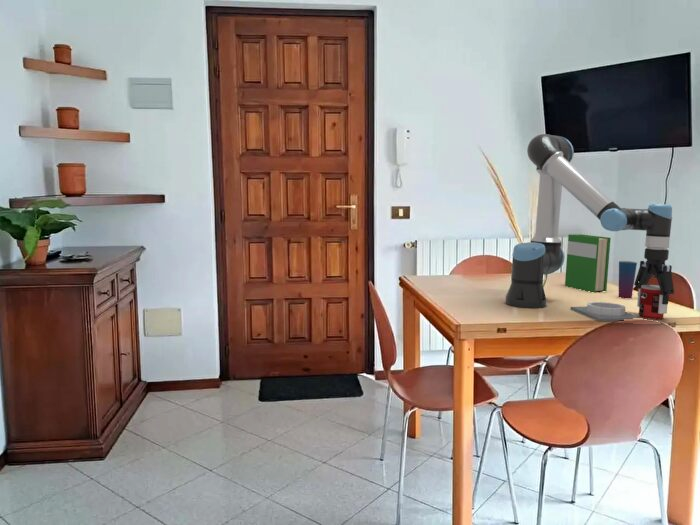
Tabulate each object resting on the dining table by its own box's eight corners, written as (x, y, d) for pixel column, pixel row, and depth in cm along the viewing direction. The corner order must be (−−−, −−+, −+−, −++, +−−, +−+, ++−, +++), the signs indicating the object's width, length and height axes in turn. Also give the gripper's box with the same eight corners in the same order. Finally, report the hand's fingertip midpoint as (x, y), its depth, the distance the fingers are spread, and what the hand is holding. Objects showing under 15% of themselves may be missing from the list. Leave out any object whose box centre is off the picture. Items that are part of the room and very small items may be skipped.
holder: (600, 321, 204) (601, 311, 204) (570, 309, 224) (571, 300, 223) (643, 320, 207) (644, 310, 206) (610, 309, 226) (610, 299, 226)
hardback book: (606, 292, 265) (610, 237, 262) (593, 292, 262) (597, 237, 259) (577, 285, 281) (581, 234, 278) (564, 286, 278) (568, 234, 275)
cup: (635, 299, 248) (638, 263, 246) (618, 298, 249) (621, 262, 247) (631, 296, 255) (634, 261, 253) (614, 295, 256) (617, 260, 254)
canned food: (641, 313, 219) (644, 283, 218) (665, 317, 214) (668, 286, 213) (635, 316, 213) (638, 286, 212) (660, 320, 208) (663, 289, 207)
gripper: (690, 252, 199) (684, 316, 202) (645, 245, 223) (640, 303, 225) (669, 251, 198) (663, 317, 201) (626, 244, 221) (622, 303, 224)
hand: (651, 309), depth 213 cm, fingers open, 11 cm apart
